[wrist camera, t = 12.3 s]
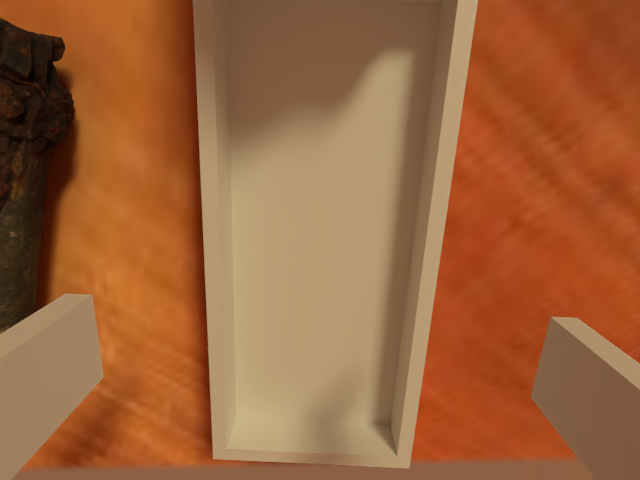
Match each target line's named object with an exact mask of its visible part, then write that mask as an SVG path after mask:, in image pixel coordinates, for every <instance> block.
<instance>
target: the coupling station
mask: <svg viewBox="0 0 640 480" xmlns="http://www.w3.org/2000/svg"><path fill="white" fill-rule="evenodd" d="M477 3H478V0H193V19H194V41H195V63H196V86H197V108H198V131H199V153H200V175H201V198H202V220H203V243H204V265H205V287H206V310H207V332H208V355H209V377H210V399H211V422H212V444H213V459H223V460H244V461H265V462H286V463H307V464H328V465H349V466H371V467H392V468H409V467H410V460H411V453H412V446H413V440H414V433H415V426H416V419H417V412H418V405H419V399H420V392H421V385H422V378H423V371H424V365H425V358H426V351H427V344H428V337H429V330H430V324H431V317H432V310H433V303H434V296H435V290H436V283H437V276H438V269H439V262H440V255H441V249H442V242H443V235H444V228H445V221H446V215H447V208H448V201H449V194H450V187H451V180H452V174H453V167H454V160H455V153H456V146H457V140H458V133H459V126H460V119H461V112H462V105H463V99H464V92H465V85H466V78H467V71H468V65H469V58H470V51H471V44H472V37H473V30H474V24H475V17H476V10H477Z"/></svg>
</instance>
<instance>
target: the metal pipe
mask: <svg viewBox="0 0 640 480" xmlns="http://www.w3.org/2000/svg"><path fill="white" fill-rule="evenodd" d="M64 51H65V44H64V42H63V40H62V38H61V37H54V36H49V35H44V34H36V33H34V32H28V31H26V30H23V29H21V28H18V27H17V26H15V25H13V24H11V23H9V22H8V21H6V20H4V19H2V18H0V334H1V333H3V332H5V331H6V330H8V329H9V328H11V327H13V326H14V325H16V324H17V323H19V322H21V321H22V320H24V319H25V318H27V317H29V316H30V315H32V314H33V313H35V312H37V297H38V287H39V262H40V253H41V244H42V235H43V223H44V210H45V199H46V191H47V181H48V171H49V163H50V159H51V157H52V155H53V151H54V148H55V146H56V145H59V144H60V143H61V142H62V141H64V140H65V137H66V134H67V129H68V127H69V125H70V123H71V121H72V117H71V114H72V108H73V104H74V101H73V100H72V94H71V93H70V92H69V91H68V90H67V89H66V88H64V87H62V85H61V84H60V83H59V79H58V75H57V71H56V68H55V66H54V65H53V62H55V61H59V60H60V59H61V58H62V56H63V53H64Z"/></svg>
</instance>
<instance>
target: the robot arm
mask: <svg viewBox="0 0 640 480" xmlns="http://www.w3.org/2000/svg"><path fill="white" fill-rule="evenodd" d="M103 377H104V375H103V368H102V360H101V353H100V346H99V339H98V332H97V325H96V317H95V310H94V303H93V296H92V295H87V294H64V295H62V296H61V297H59V298H57V299H56V300H54V301H53V302H51V303H49V304H48V305H46V306H45V307H43V308H41V309H40V310H38V311H37V312H35V313H33V314H32V315H30V316H29V317H27V318H25V319H24V320H22V321H21V322H19V323H17V324H16V325H14V326H13V327H11V328H9V329H8V330H6V331H5V332H3V333H1V334H0V480H12V478H13V477H14V476H15V475H16V474H17V473H18V472H19V471H20V470H21V468H22V467H23V466H24V465H25V464H26V463H27V462H28V461H29V460H30V458H31V457H32V456H33V455H34V454H35V453H36V452H37V451H38V450H39V448H40V447H41V446H42V445H43V444H44V443H45V442H46V441H47V440H48V438H49V437H50V436H51V435H52V434H53V433H54V432H55V431H56V430H57V428H58V427H59V426H60V425H61V424H62V423H63V422H64V421H65V420H66V418H67V417H68V416H69V415H70V414H71V413H72V412H73V411H74V410H75V409H76V407H77V406H78V405H79V404H80V403H81V402H82V401H83V400H84V399H85V397H86V396H87V395H88V394H89V393H90V392H91V391H92V390H93V389H94V387H95V386H96V385H97V384H98V383H99V382H100V381H101V380H102V379H103ZM531 399H532V400H533V401H534V402H535V404H536V405H537V406H538V408H539V409H540V410H541V411H542V413H543V414H544V415H545V417H546V418H547V419H548V420H549V422H550V423H551V424H552V426H553V427H554V428H555V429H556V431H557V432H558V433H559V435H560V436H561V437H562V439H563V440H564V441H565V442H566V444H567V445H568V446H569V448H570V449H571V450H572V451H573V453H574V454H575V455H576V457H577V458H578V459H579V460H580V462H581V463H582V464H583V466H584V467H585V468H586V469H587V471H588V472H589V473H590V474H591V476H592V477H593V478H594V480H640V364H639V363H638V362H636V361H635V360H634V359H632V358H631V357H630V356H628V355H627V354H626V353H624V352H623V351H621V350H620V349H619V348H617V347H616V346H615V345H613V344H612V343H611V342H609V341H608V340H607V339H605V338H604V337H602V336H601V335H600V334H598V333H597V332H596V331H594V330H593V329H592V328H590V327H589V326H588V325H586V324H585V323H583V322H582V321H581V320H579V319H578V318H567V317H550V321H549V325H548V329H547V333H546V337H545V341H544V345H543V349H542V353H541V357H540V362H539V366H538V370H537V374H536V378H535V382H534V386H533V390H532V394H531Z"/></svg>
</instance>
